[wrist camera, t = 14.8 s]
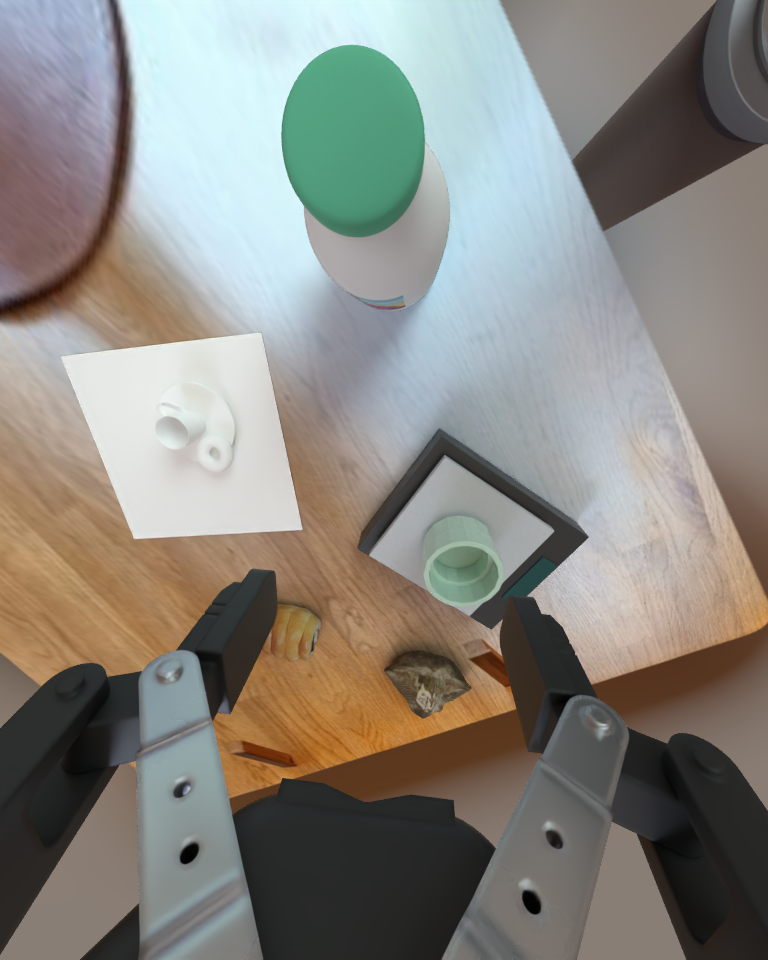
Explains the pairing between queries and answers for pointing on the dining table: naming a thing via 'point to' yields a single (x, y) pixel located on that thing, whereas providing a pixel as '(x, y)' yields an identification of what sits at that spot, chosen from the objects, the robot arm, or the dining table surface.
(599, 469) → the dining table surface
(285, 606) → the pastry
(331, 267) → the milk bottle
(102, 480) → the dining table surface
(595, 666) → the dining table surface
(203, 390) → the white plastic piece
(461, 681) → the fossilized seashell
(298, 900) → the robot arm
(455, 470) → the scale
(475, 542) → the cup
